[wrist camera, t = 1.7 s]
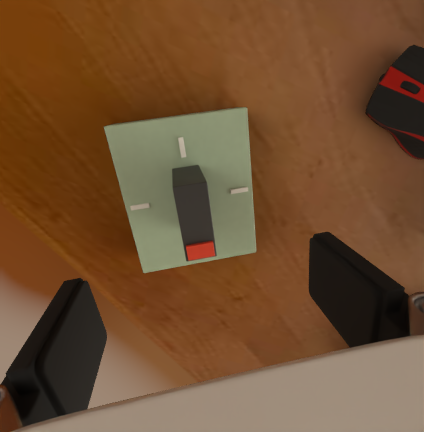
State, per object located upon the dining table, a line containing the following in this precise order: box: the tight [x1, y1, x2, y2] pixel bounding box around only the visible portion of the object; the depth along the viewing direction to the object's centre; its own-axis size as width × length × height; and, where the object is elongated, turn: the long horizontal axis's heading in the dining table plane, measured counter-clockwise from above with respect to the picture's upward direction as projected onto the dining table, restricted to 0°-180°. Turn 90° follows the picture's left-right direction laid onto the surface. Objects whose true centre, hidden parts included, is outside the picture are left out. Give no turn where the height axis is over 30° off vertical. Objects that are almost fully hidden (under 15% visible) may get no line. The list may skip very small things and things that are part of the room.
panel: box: [104, 107, 256, 273], centre depth 22 cm, size 12×10×3 cm
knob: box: [172, 165, 217, 261], centre depth 18 cm, size 5×2×5 cm, turn 7°
